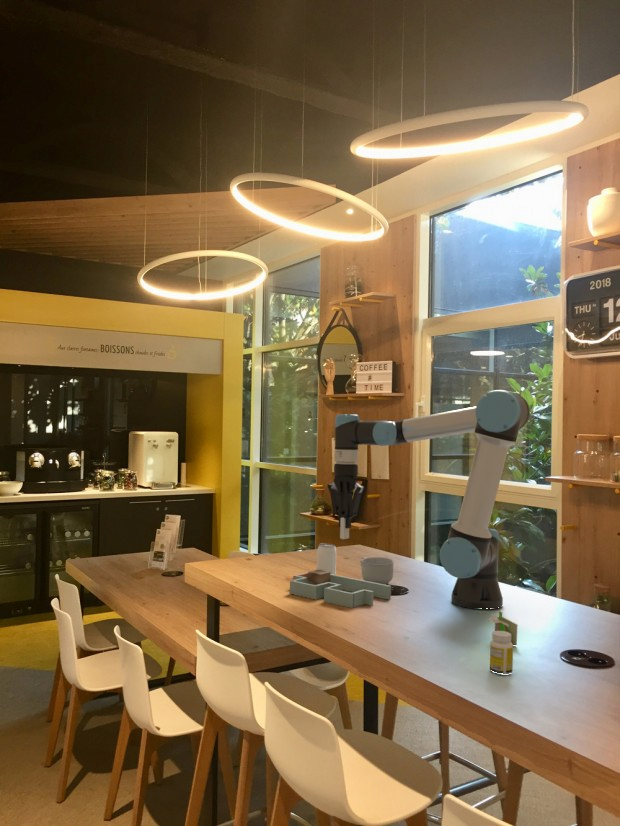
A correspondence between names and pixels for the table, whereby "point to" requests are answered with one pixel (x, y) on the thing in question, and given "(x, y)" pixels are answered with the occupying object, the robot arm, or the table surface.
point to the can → (326, 558)
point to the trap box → (333, 593)
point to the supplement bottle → (501, 652)
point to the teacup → (377, 569)
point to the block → (318, 577)
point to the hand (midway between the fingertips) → (344, 538)
